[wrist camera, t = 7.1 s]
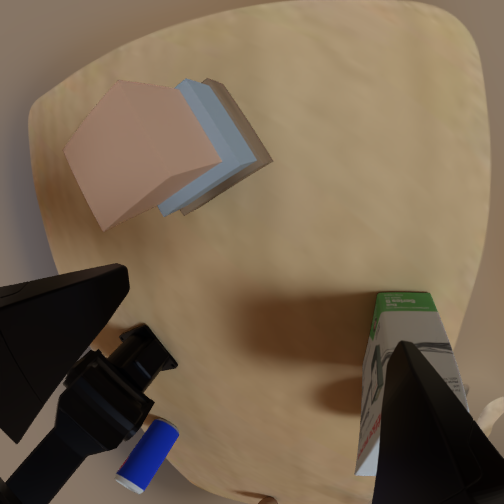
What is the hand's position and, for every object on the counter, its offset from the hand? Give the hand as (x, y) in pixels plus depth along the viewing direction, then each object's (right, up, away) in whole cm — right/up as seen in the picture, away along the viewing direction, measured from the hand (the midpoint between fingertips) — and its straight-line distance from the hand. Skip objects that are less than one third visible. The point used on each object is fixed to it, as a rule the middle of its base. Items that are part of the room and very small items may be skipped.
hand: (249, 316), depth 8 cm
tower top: (-4, +9, +9) cm, 13 cm away
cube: (-5, +8, +7) cm, 11 cm away
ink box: (+12, -5, +13) cm, 19 cm away
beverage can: (-15, -29, +33) cm, 46 cm away
